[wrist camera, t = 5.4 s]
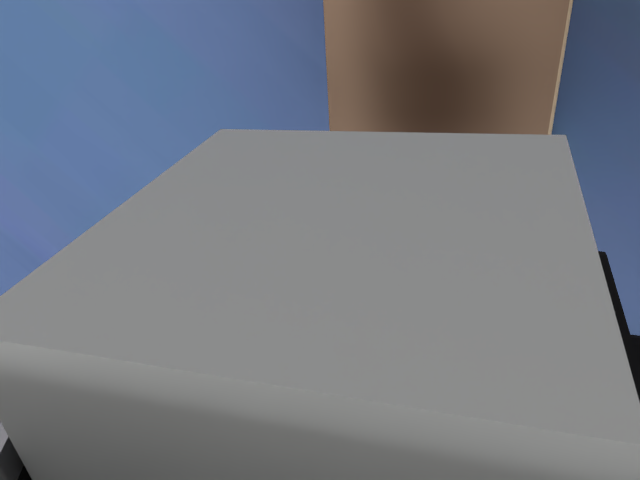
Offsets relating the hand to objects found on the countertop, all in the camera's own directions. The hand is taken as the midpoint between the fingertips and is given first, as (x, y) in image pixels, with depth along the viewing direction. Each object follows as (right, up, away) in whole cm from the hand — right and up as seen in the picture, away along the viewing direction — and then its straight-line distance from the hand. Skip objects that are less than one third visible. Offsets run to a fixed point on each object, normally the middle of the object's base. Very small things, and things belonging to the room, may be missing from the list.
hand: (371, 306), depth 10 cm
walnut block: (+4, +8, +12) cm, 15 cm away
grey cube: (0, 0, +1) cm, 1 cm away
